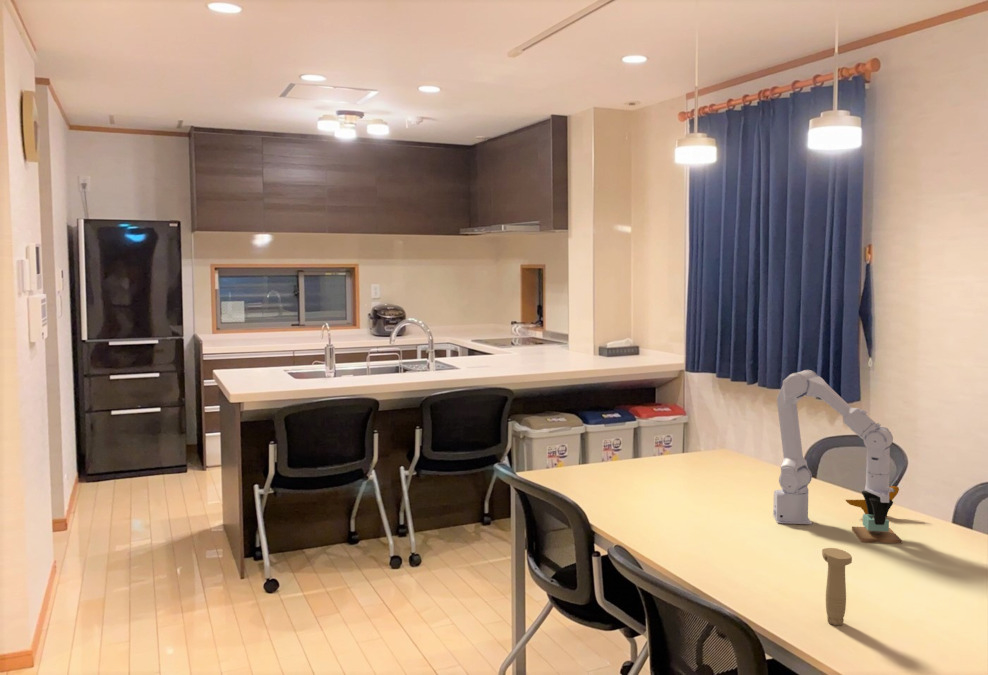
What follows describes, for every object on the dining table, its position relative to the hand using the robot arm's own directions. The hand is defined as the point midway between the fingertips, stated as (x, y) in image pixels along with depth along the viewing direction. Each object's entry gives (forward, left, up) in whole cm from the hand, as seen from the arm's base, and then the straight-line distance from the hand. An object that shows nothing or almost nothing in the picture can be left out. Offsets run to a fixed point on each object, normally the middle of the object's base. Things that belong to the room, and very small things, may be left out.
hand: (876, 521), depth 220 cm
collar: (0, 0, -2) cm, 2 cm away
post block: (0, 0, -4) cm, 4 cm away
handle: (-24, -57, -5) cm, 62 cm away
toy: (+4, +19, -5) cm, 20 cm away
